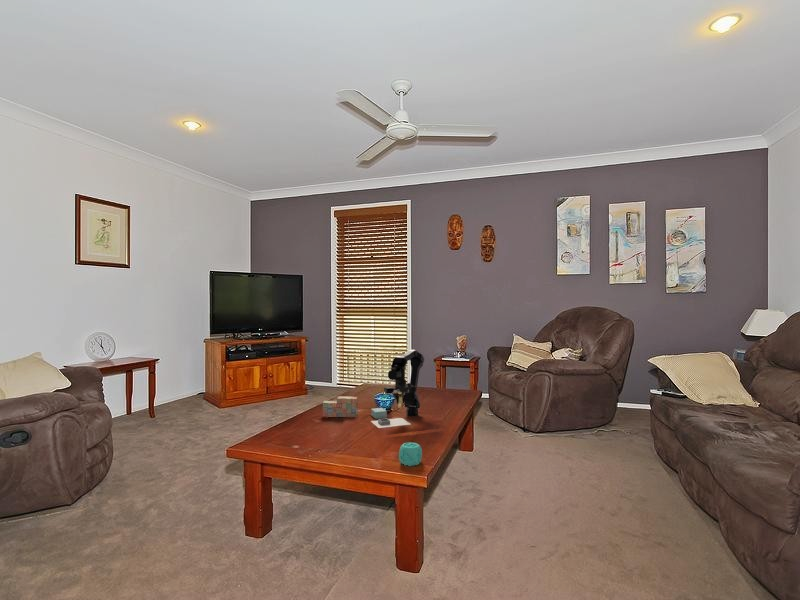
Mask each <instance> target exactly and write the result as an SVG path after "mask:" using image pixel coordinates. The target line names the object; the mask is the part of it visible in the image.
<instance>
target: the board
mask: <svg viewBox="0 0 800 600" xmlns="http://www.w3.org/2000/svg"><path fill="white" fill-rule="evenodd" d="M370 423H372V424H373V425H374V426H375V427H377V428H378V429H383V428H392V427H401V426H410V425H411V423H410V422H409V421H407V420H406V419H404V418H403V417H395V418H378V419H376V420H371V421H370Z"/></svg>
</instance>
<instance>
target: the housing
mask: <svg viewBox="0 0 800 600" xmlns="http://www.w3.org/2000/svg"><path fill="white" fill-rule="evenodd" d="M370 411H371V412H370V415H371V416H372V417H373V419H375V420H378V419H385V418H387V417H388V414H387V412H388V411H387V410H386V409H385V408H383V407H377V408H371V409H370ZM387 419H388V418H387Z"/></svg>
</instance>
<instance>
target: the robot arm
mask: <svg viewBox="0 0 800 600" xmlns="http://www.w3.org/2000/svg"><path fill="white" fill-rule="evenodd" d="M409 361H410V365H411V375H410V380H409V382H408V383H407V380H406V369H407V367H406V366H407V365H408V362H409ZM424 363H425V357H424V356H423V354H421V352H418V350H417V349H408V351H407V352H405V353H403V354H401V355H395V356H394V358H393V360H392V362H391V366H390V370H389V371H388V373H387V376H388V379H389V380H391V381H395V382H394V383H395V385H394V387H392V386H385V387H383V393H385V394H392V396H393V397H394V400H395V403H396V405H398V393H403V405H404V408H406V410H405V411H406V412H405V415H406V416H409V417H416V416H419V409H420V408H421V402H420V400H419V395H418V393H417V392H418V391H417V390H418V383H419V376H420V371H421V368H422V367H423V365H424Z"/></svg>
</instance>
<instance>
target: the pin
mask: <svg viewBox="0 0 800 600" xmlns="http://www.w3.org/2000/svg"><path fill="white" fill-rule="evenodd" d="M397 393H398V404H397V408H403V405H404V403H403V393H402V392H397Z"/></svg>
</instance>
